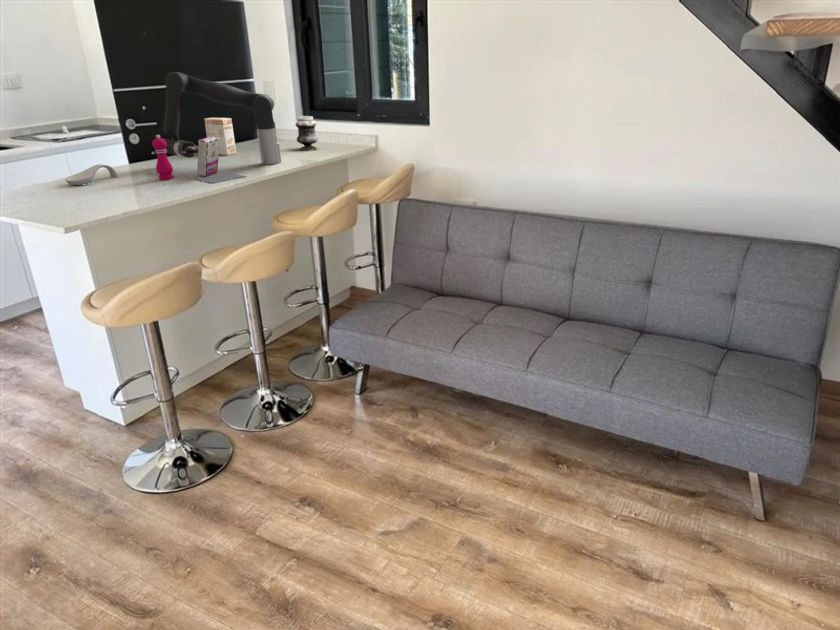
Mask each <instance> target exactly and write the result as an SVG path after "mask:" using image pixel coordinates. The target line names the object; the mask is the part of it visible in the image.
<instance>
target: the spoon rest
mask: <svg viewBox="0 0 840 630" xmlns="http://www.w3.org/2000/svg"><path fill="white" fill-rule="evenodd" d="M101 168H104V169H106V170H107V171H108V172H109V175H110V177H111V178H118V177H119V176H118V173H117V172H116V170H115V169H114V168H113V167H111V165H107V164H102V163H101V164H100V163H99V164H94V165H93V166H90V167H88V168H87V169H84V170H82V171H80V172H77V173H75V174H72V175H70V176H69V175H68V176H67V177H65V178H64V181H65V182H66V183H67V184H69V185H71V186H75V185H81V186H84V185H83V184H87V185H89V184H88V183H90V184H91V182H92V181H93V179H94V177H95V175H96V174H97V171H99V170H100V169H101Z"/></svg>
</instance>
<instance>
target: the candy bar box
mask: <svg viewBox="0 0 840 630" xmlns="http://www.w3.org/2000/svg"><path fill="white" fill-rule="evenodd" d="M197 147H198V154H197V172H196V173H197V175H199V176H202V177H206V176H207V177H210V176H212V175H214V174H217V173H218V171H219V155H218V154H219V138H215V137H211V136H210V137H207V136H206V137H204V138H201V139H198V145H197ZM211 174H212V175H211Z"/></svg>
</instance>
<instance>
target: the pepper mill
mask: <svg viewBox="0 0 840 630" xmlns="http://www.w3.org/2000/svg"><path fill="white" fill-rule="evenodd" d="M164 139H165V138H164ZM164 139H163V138H161V135H160V134H156V135H155V138H154V139H153V140H152V147H153V148H154V149H155V150H154V153H155V154H156V157H157V158H156V159H157V162H156V166H155V171H156V173H157V174H158V179H159V181H170V179H171V180H173V179H174V175H173V171H174V169H173V166H172V164H171V161H169V158H168V155H167V153H166V152H167V149H165V148H166V146H167V143H166V141H165V140H164Z"/></svg>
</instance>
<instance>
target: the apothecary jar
mask: <svg viewBox="0 0 840 630" xmlns="http://www.w3.org/2000/svg"><path fill="white" fill-rule="evenodd" d="M295 126H296V128H297V131H298V135H297V137H296V141H297V143H299V144H301V145H303V146H301V147H300V148H299V150H300V151H313V150H312V149H315V150H317V149H316V148H317V147H316V146H315V145H314V144H316V143H317V142H318V141H319V140H318V139H319V138H318V136H317V134H316V129H315V128H316V126H317V121H315V120H314V117H313V115H312V116H310V115H302V116H298V117H297V120H296V121H295Z"/></svg>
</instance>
